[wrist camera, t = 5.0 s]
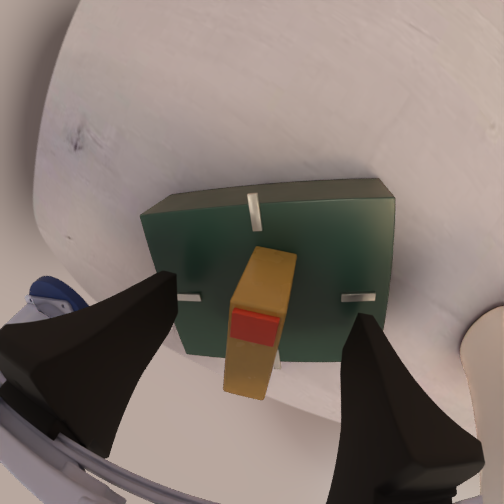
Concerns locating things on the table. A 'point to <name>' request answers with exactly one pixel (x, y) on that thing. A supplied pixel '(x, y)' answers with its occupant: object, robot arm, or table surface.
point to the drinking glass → (487, 396)
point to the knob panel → (283, 239)
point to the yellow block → (257, 321)
